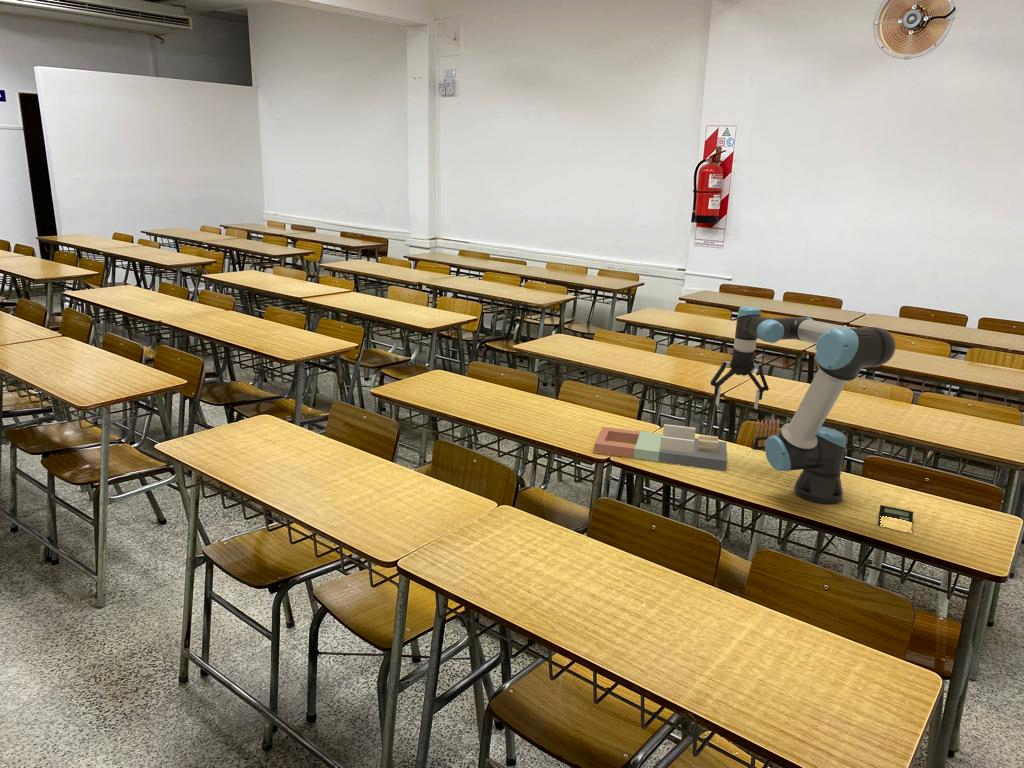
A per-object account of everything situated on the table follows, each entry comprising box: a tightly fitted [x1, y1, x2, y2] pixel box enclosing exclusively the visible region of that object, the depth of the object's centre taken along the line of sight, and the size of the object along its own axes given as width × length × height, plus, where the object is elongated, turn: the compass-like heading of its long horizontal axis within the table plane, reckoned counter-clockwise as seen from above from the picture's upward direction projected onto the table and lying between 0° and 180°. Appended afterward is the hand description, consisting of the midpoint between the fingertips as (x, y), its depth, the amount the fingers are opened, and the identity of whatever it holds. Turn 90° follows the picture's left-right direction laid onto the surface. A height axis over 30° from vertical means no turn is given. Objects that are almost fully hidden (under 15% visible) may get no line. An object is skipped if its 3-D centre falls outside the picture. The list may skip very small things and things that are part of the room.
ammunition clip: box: [751, 418, 780, 451], centre depth 281 cm, size 11×2×12 cm, turn 103°
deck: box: [593, 424, 728, 472], centre depth 272 cm, size 20×48×9 cm, turn 74°
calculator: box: [877, 504, 914, 526], centre depth 223 cm, size 9×12×3 cm
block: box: [697, 434, 719, 453], centre depth 268 cm, size 7×7×4 cm
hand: (736, 406), depth 261 cm, fingers open, 13 cm apart
